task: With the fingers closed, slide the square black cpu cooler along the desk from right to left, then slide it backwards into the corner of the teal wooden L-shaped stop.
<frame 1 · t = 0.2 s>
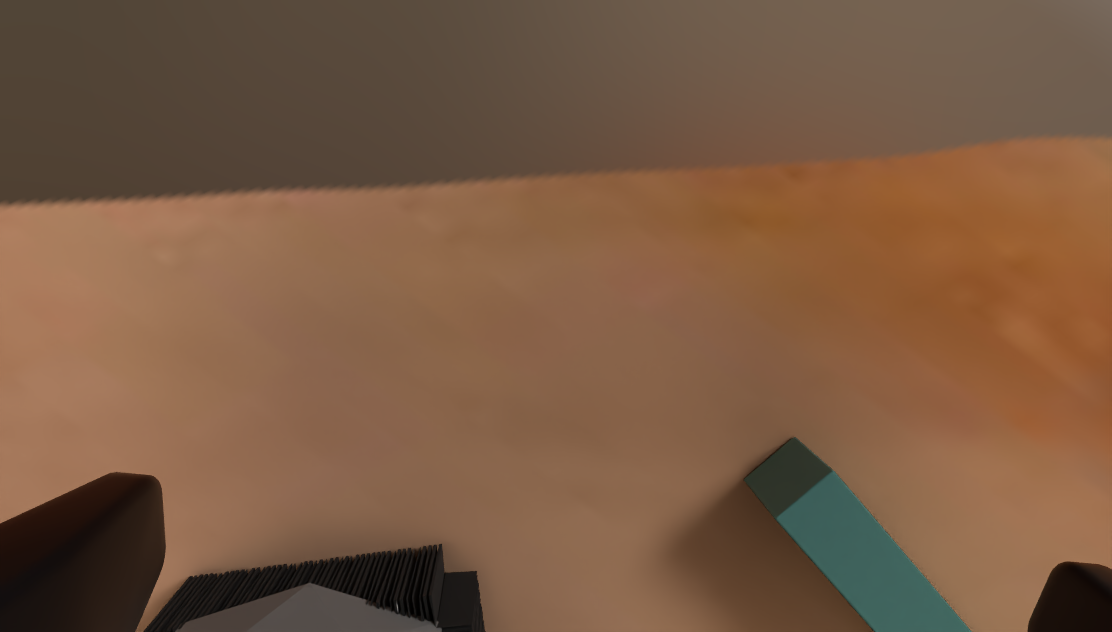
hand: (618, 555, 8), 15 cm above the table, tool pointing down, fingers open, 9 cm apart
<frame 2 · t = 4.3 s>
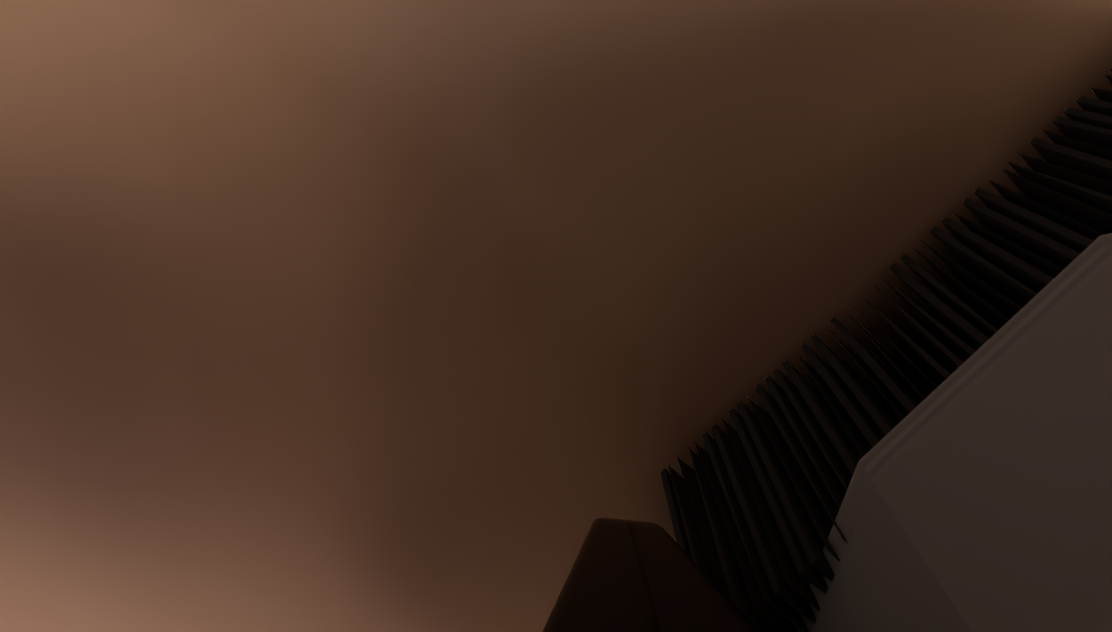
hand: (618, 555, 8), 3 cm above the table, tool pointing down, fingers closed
cpu cooler: (1080, 472, 11), on the table, touching gripper
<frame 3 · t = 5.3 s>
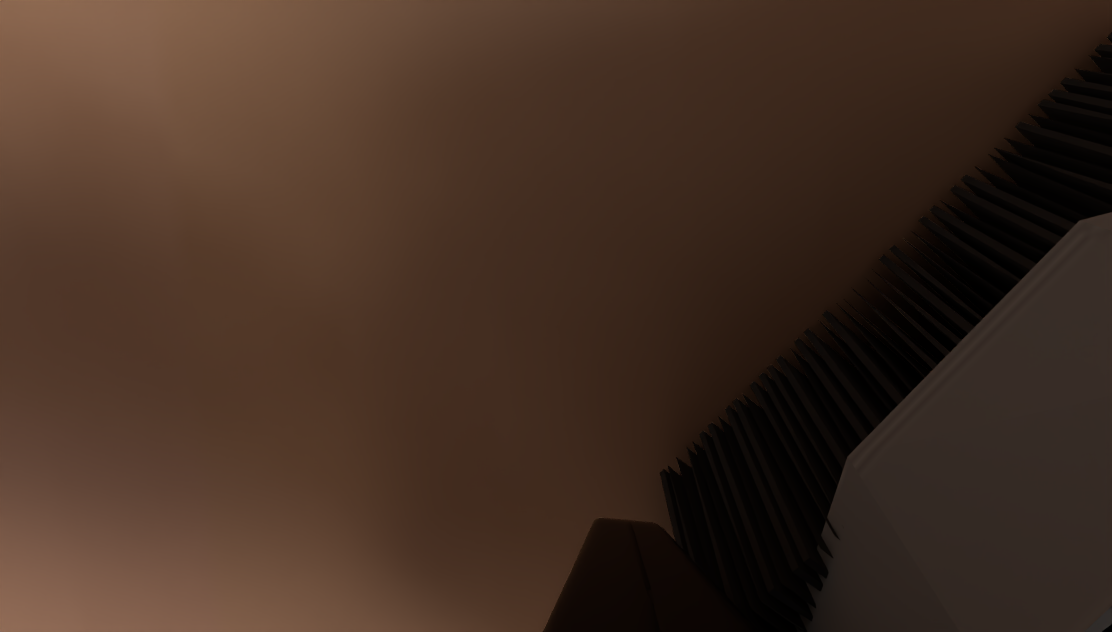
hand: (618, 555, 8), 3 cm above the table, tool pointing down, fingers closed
cpu cooler: (1087, 456, 11), on the table, touching gripper
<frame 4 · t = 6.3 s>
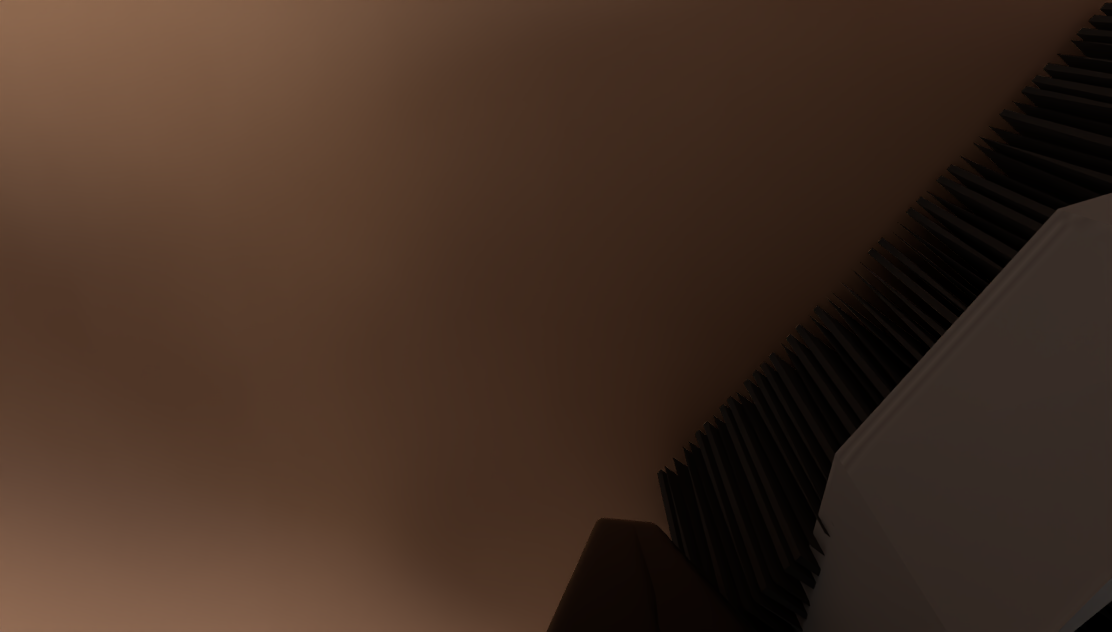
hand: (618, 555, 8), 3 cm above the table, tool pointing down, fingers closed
cpu cooler: (1090, 443, 11), on the table, touching gripper
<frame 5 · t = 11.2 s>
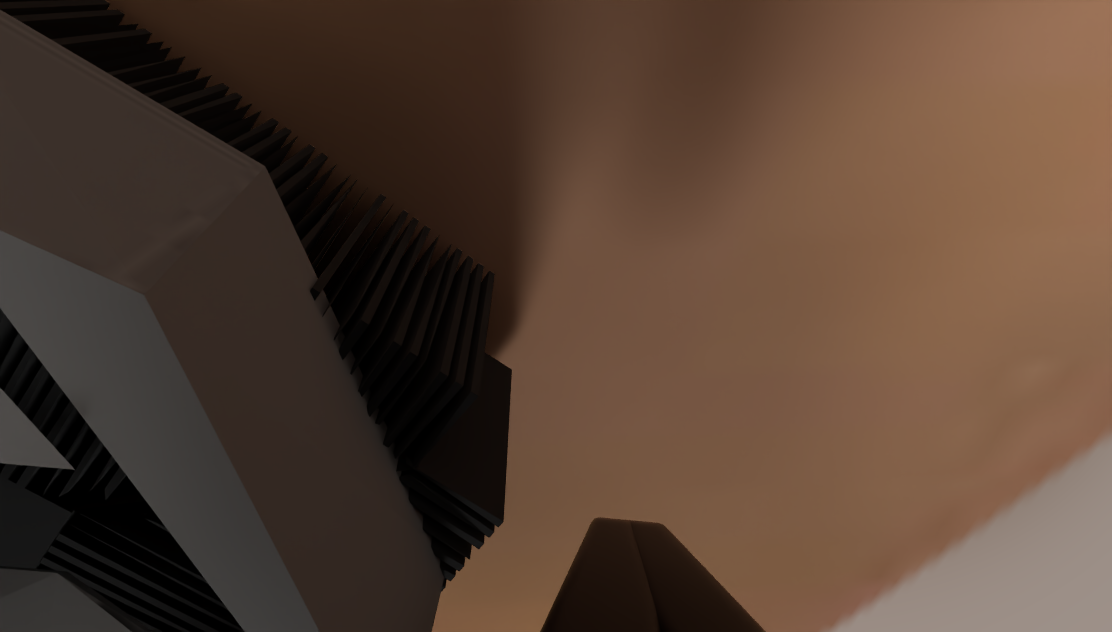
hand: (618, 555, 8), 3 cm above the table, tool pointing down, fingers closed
cpu cooler: (54, 370, 10), on the table, touching gripper
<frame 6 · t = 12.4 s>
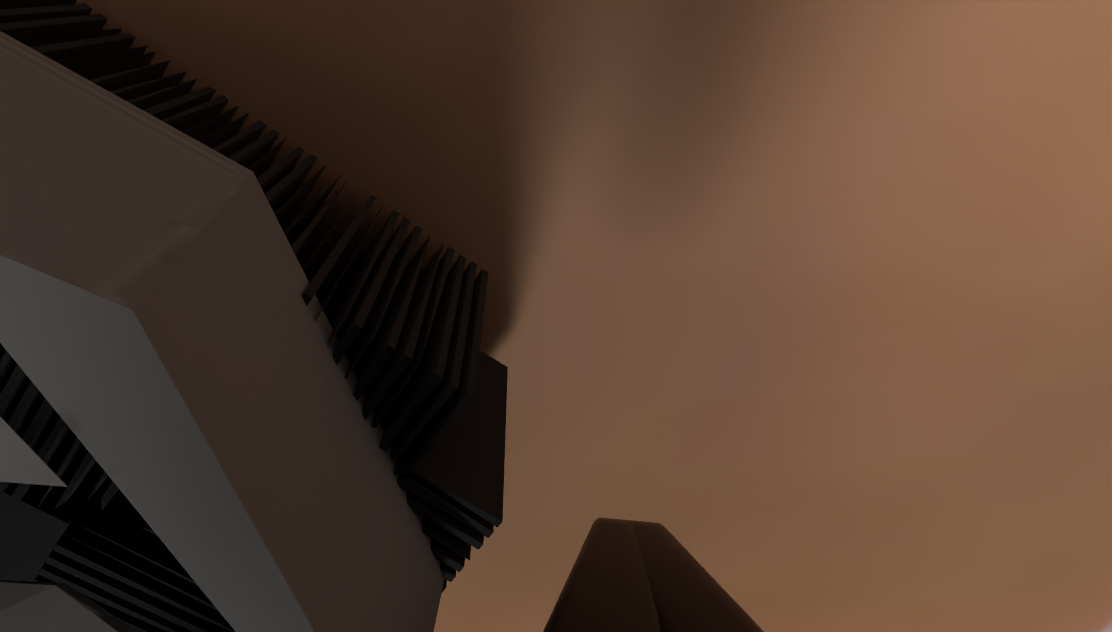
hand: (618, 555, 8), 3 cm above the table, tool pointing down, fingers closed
cpu cooler: (48, 378, 10), on the table, touching gripper
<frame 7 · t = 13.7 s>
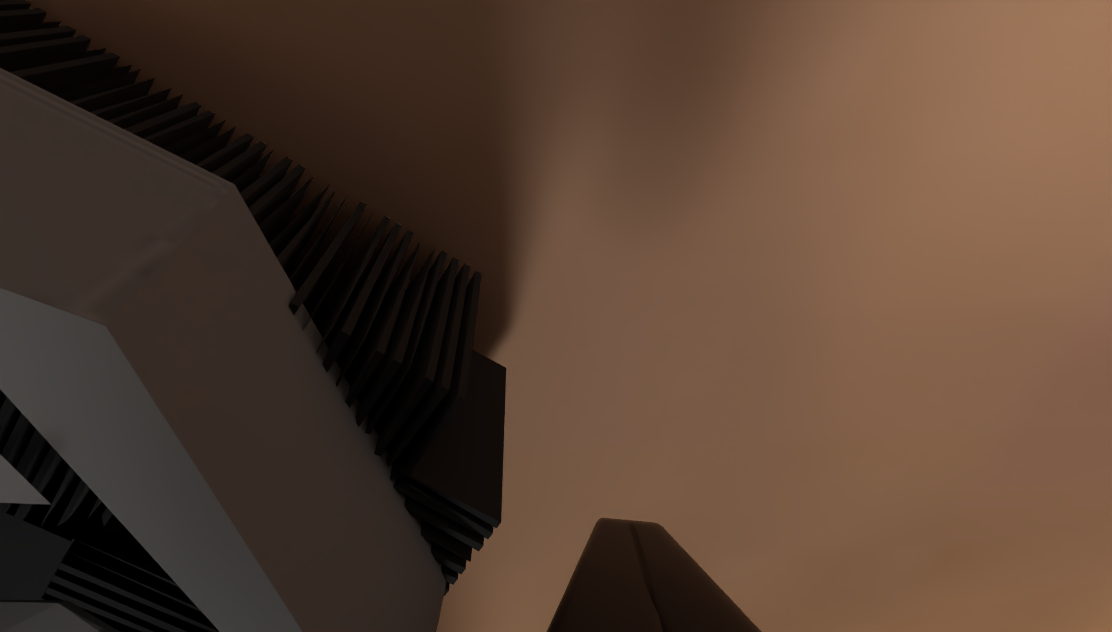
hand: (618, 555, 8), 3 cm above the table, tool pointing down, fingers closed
cpu cooler: (52, 398, 10), on the table, touching corner stop, gripper
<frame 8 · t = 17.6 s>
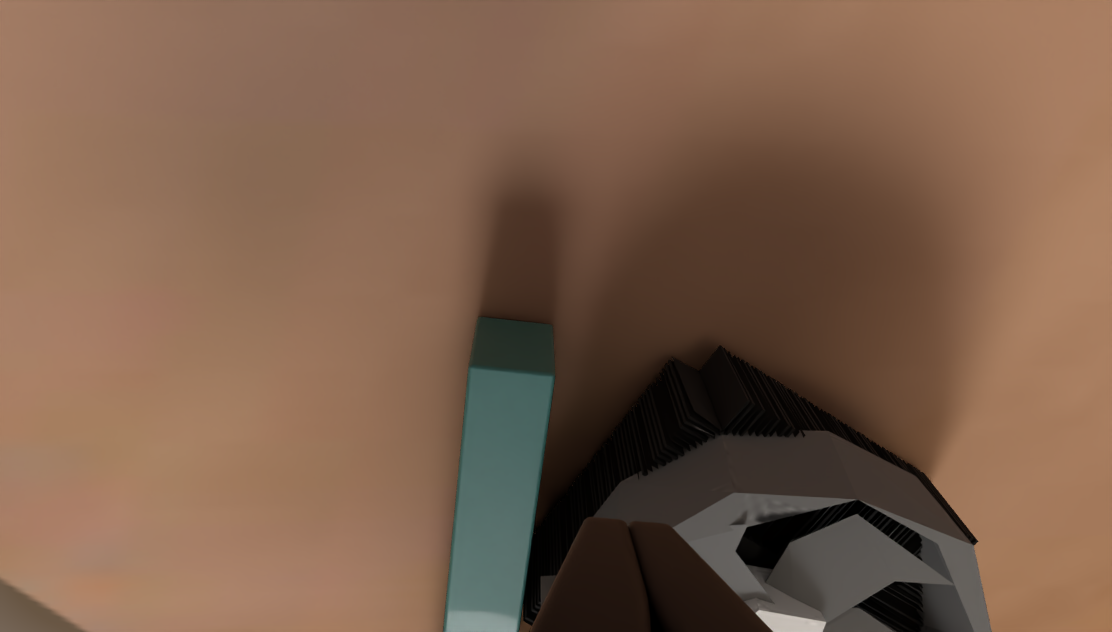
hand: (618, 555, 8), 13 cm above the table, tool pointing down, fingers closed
cpu cooler: (721, 518, 24), on the table, touching corner stop
corner stop: (657, 552, 24), on the table
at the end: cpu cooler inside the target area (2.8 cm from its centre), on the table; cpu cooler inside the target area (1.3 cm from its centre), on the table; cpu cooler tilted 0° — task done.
